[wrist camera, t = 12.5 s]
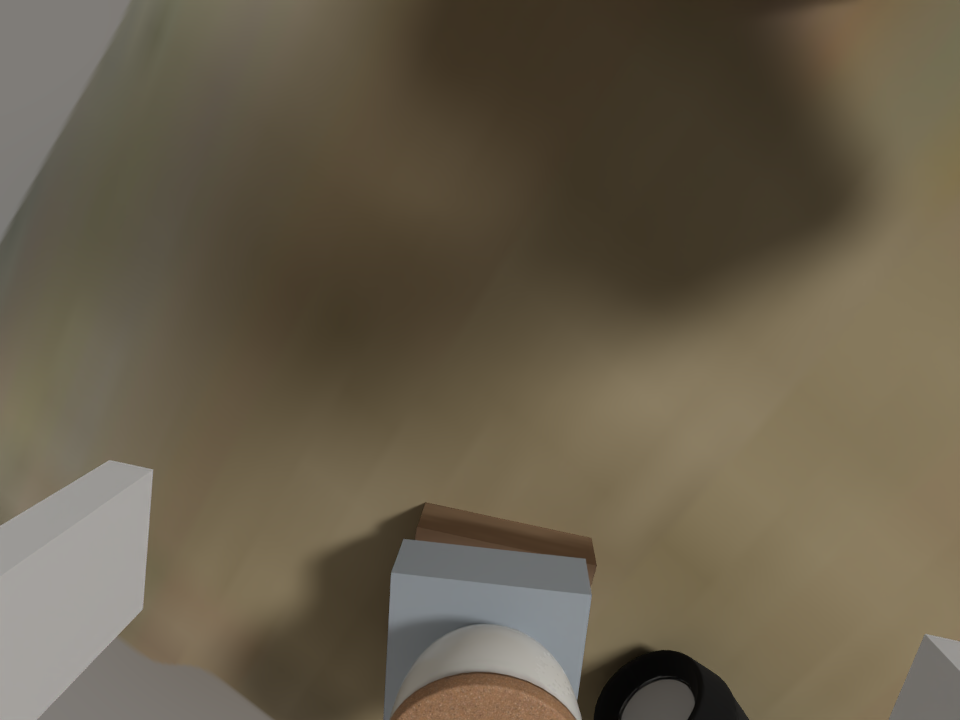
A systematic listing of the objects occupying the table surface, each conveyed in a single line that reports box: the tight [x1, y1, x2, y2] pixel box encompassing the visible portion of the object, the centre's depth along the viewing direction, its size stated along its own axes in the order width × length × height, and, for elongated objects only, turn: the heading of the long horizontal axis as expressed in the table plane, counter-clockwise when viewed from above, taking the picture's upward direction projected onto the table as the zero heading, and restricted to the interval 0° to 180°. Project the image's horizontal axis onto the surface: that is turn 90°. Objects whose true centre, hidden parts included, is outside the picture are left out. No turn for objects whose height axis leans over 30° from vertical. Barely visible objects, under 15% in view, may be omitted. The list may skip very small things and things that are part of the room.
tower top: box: [384, 539, 592, 720], centre depth 41 cm, size 12×12×4 cm
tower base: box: [415, 503, 597, 588], centre depth 45 cm, size 12×12×4 cm
